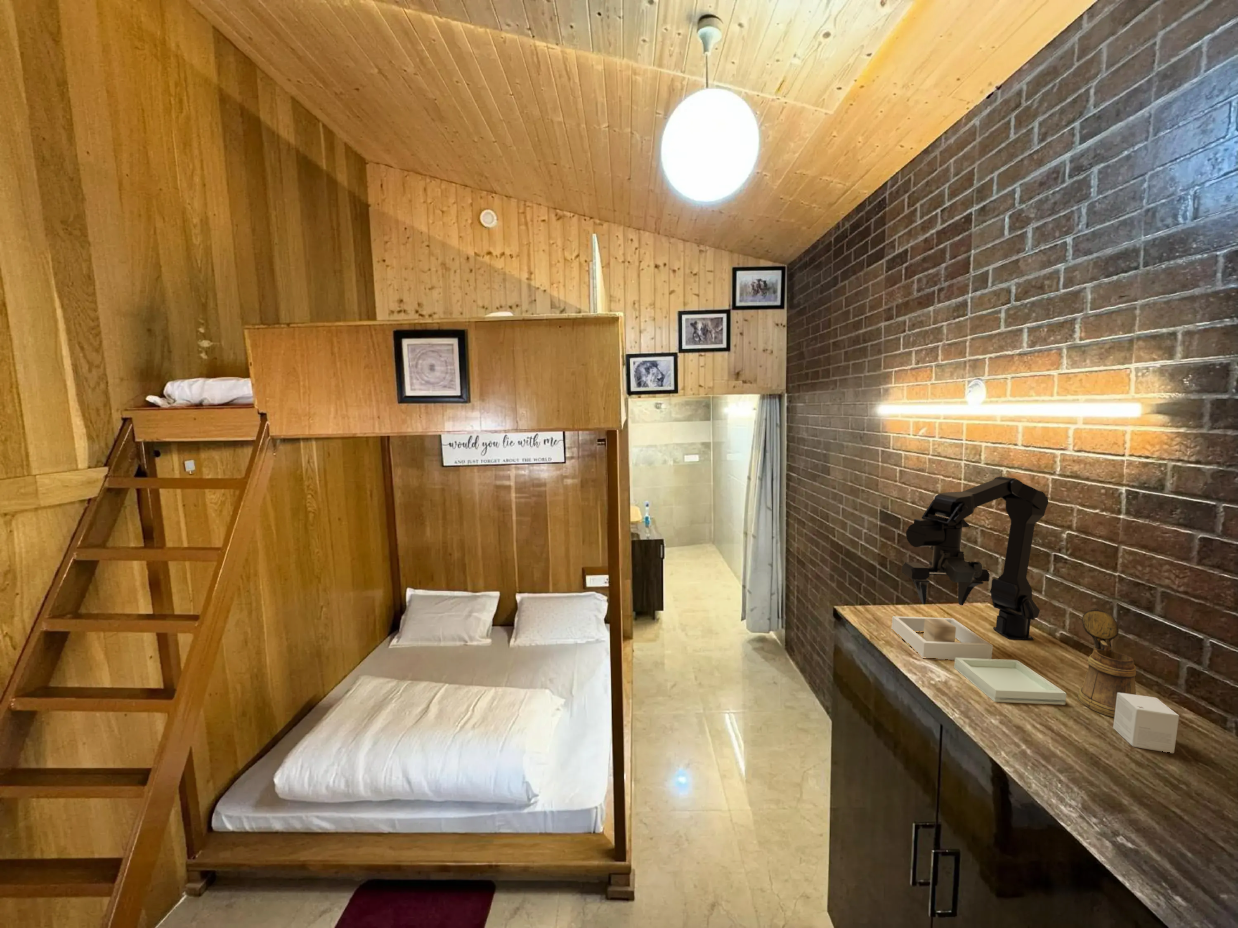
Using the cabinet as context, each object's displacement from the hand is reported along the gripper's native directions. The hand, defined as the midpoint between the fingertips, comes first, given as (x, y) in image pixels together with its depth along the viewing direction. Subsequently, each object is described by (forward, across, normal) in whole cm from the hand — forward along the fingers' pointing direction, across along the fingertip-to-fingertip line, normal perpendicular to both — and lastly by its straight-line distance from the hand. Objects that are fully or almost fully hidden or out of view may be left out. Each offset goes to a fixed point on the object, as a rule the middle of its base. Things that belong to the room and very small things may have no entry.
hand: (942, 604), depth 131 cm
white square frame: (+11, 0, 0) cm, 11 cm away
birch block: (+11, 0, 0) cm, 11 cm away
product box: (+11, +16, -37) cm, 42 cm away
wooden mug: (+11, +20, -24) cm, 33 cm away
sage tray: (+11, +4, -19) cm, 22 cm away
